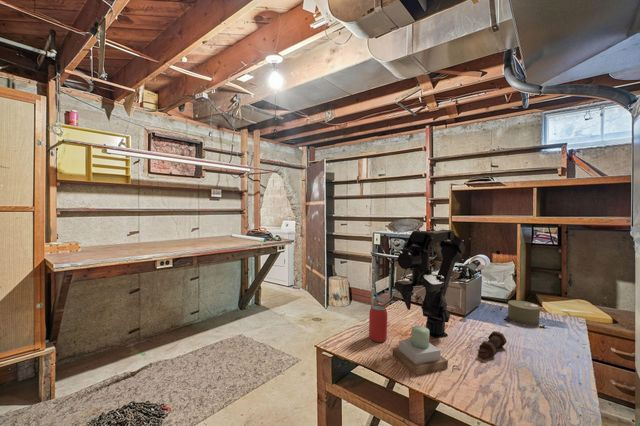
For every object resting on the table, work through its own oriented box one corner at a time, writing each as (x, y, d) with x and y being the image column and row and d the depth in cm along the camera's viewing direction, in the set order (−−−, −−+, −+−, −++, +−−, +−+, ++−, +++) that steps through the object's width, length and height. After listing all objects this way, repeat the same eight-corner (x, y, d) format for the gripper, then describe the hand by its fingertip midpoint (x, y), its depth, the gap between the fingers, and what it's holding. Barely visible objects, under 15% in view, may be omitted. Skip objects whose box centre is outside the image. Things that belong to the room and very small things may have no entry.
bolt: (479, 363, 97) (495, 347, 107) (494, 361, 94) (509, 345, 104) (471, 345, 99) (487, 331, 109) (485, 343, 96) (500, 329, 106)
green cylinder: (420, 339, 98) (421, 325, 98) (432, 347, 93) (433, 331, 93) (407, 342, 96) (407, 327, 96) (418, 350, 91) (419, 334, 91)
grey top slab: (421, 346, 100) (422, 337, 100) (439, 359, 91) (440, 350, 91) (398, 349, 97) (399, 340, 97) (415, 364, 88) (415, 354, 88)
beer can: (386, 343, 106) (387, 311, 105) (368, 341, 107) (369, 309, 106) (386, 335, 112) (387, 305, 112) (369, 333, 113) (369, 303, 113)
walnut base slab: (421, 351, 102) (421, 343, 102) (447, 370, 91) (447, 360, 91) (392, 357, 98) (392, 348, 98) (416, 377, 87) (416, 367, 87)
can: (502, 313, 138) (503, 299, 138) (531, 315, 136) (532, 301, 136) (514, 323, 127) (514, 307, 126) (545, 326, 124) (546, 310, 124)
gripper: (414, 272, 94) (413, 320, 95) (457, 268, 101) (456, 313, 102) (393, 265, 105) (392, 308, 105) (434, 262, 112) (433, 302, 112)
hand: (419, 308), depth 106 cm, fingers open, 9 cm apart
